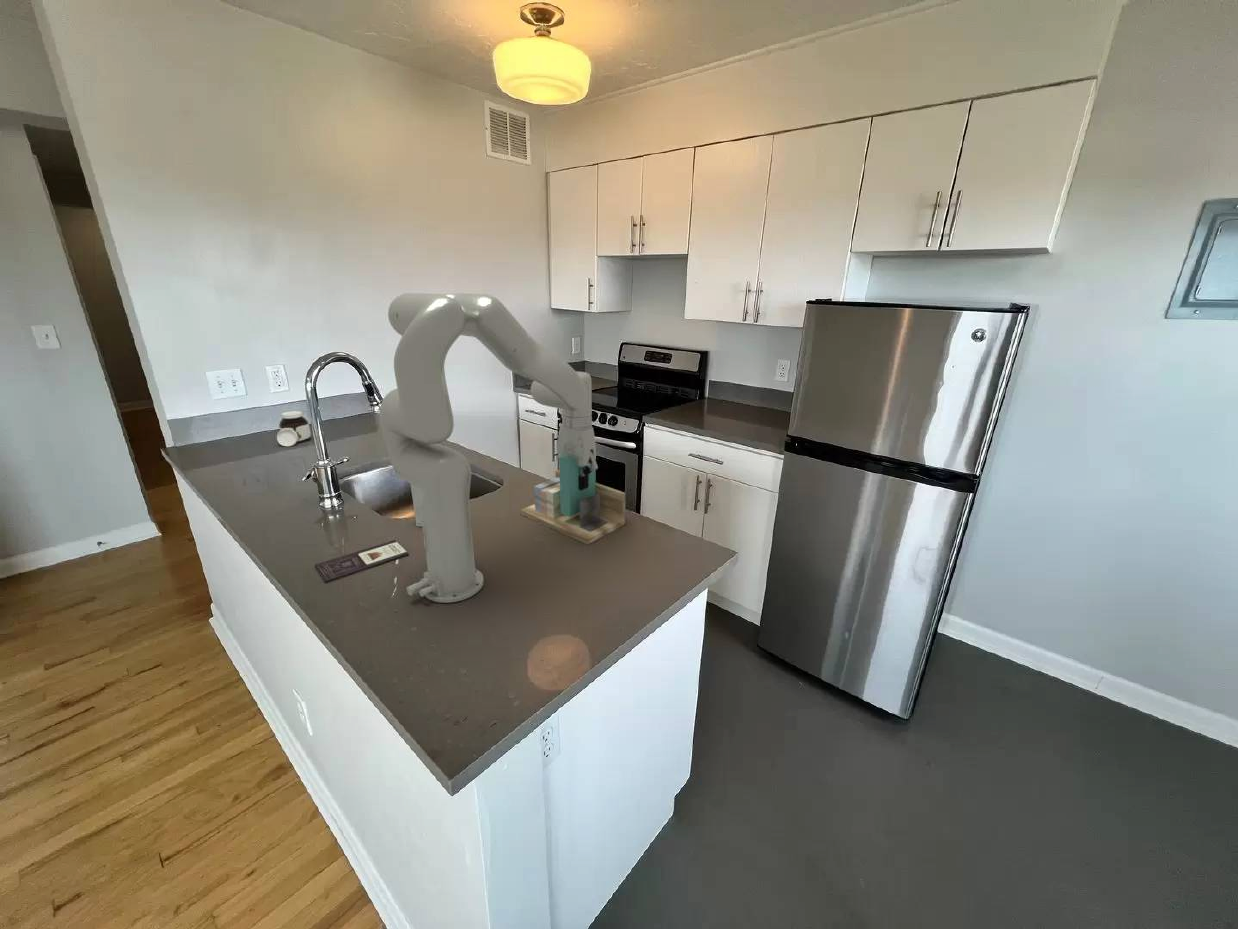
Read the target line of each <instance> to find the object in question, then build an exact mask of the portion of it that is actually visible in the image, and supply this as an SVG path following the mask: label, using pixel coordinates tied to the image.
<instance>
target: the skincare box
mask: <svg viewBox="0 0 1238 929" xmlns="http://www.w3.org/2000/svg"><path fill="white" fill-rule="evenodd" d="M409 484H410V490H411V497H412V504H413V512H414V518H415V525H416V527H422V522H421V506H422V502H423V498H424V492H423V490H422V489H421V488H419V487H417V486H415V485H413V484H411V483H409Z"/></svg>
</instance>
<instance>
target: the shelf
mask: <svg viewBox="0 0 1238 929" xmlns="http://www.w3.org/2000/svg"><path fill="white" fill-rule="evenodd" d="M533 490H534V504H531V505H530V506H527V507H524V508H521V509H519V510H520V515H521V516H523V515H524V516H523V517H525V516H526V518H527V517H528V518H527V519H529V518H530V520H531V519H532V521H533V522H536V521H537V522H536V523H538V522H539V524H540V523H541V525H542V524H543V526H545V527H547V528H549V529H551V528H552V530H554V531H556V532H559V533H560V534H562V535H565V536H567V537H569V538H572V539H574V540H576V541H578V540H579V541H578V542H580V541H581V543H582V542H583V543H582V544H585V545H586V546H587V545H590V544H591V543H593V542H595V541H597V540H599V539H601V538H603V537H604V536H607V535H608V534H610V533H612V532H614V531H616V530H617V529H620V528H621V527H623V526H625V525H626V524H625V523H626V492H623V491H621V490H618V489H615V488H613V487H609V486H606V485H604V484H601V483H599V482H596V495H593V496H591V497H589V498H586V499H584V500H582V501H580V513H578V514H576V515H574V516H571V517H569V516H566V515H564V514H561V502H560V469H556V470H555V478H553V479H550V480H547V481H545V482H541V483H539V484H537V485H534V488H533Z"/></svg>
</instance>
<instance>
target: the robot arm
mask: <svg viewBox="0 0 1238 929" xmlns="http://www.w3.org/2000/svg"><path fill="white" fill-rule="evenodd" d="M387 315H388V317H387V318H388V321H389V323H390V326H391V327H392V328H393V329H394V331H395V332H396V333H397V334H398V335H400V336H401V338H400V340H399V342H398V345H397V347H396V349H395V352H394V358H393V370H394V378H395V383H396V388H395V389H393V390H391V391H389V392H388V393H387V394H386V395H385V396H384V398H383V399H382V401H381V403H380V406H379V413H378V414H379V415H378V416H379V423H380V427H381V430H382V432H381V433H382V436H383V439H384V442H385V446H386V449H387V453H388V457H389V461H390V464H391V467H392V468H393V470H394V473H395V474H396V475H397V476H398V478H400V479H402V481H405V482H407V483H409V484H410V483H411V484H413V485H415V486H417V487H419V488H421V489H422V490H423V492H424V498H423V502H422V506H421V522H422V526H421V527H422V534H423V543H424V551H425V558H426V564H427V570H426V571H425V572H423V574H422V575H423V577H422V578H420V580H419V581H418V582H415V583H413V584H410V585H409V586H406V592H407V594H408V596H413V595H415V594H418V593H419V595H420V597H425V598H426V599H428V600H429V601H433V602H436V603H444V604H445V603H456V602H457V603H458V602H459V601H460V602H461V601H464V600H466V599H469V598H471V597H473V596H474V595H475V594H477V593H478V592H479V591H481V589H482V588H483V586H484V583H485V581H484V580H485V578H484V574H483V573H482V572H481V571H480V570H478V569H477V568H476V564H475V563H476V562H475V552H474V543H473V532H472V523H471V522H472V521H471V519H472V518H471V512H470V510H471V509H470V488H471V480H472V470H471V465H470V463H469V460H468V459H467V458H466V457H465V455H464V454H462V453H461V452H460V451H458V450H456V449H454V448H452V447H449V446H446V445H443V444H441V443H444V442H445V441H447V440H448V439H449V438H450V437H451V435H452V433H453V431H454V426H455V425H454V422H455V421H454V415H453V410H452V405H451V401H450V400H451V399H450V396H449V390H448V386H447V380H446V373H445V372H446V371H445V363H446V358H447V356H448V353H449V351H450V349H451V348H452V346H453V345H454V343H455V342H456V341H457V340H458V339H459V337H460V336H464V337H472V338H476V339H477V340H479V342H480V343H481V344H482V345H483V346H484V347H485V348H486V349H487V350H488V351H489V352H490V353H491V354H493V356H494V357H495V358H496V359H497V360H498V361H499V362H500V363H501V364H502V365H503V366H504V367H505V368H507V369H508V370H509V371H511V372H512V373H515V374H516V375H519V376H521V377H524V378H526V379H529V380H531V381H533V382H532V383H531V386H530V395H531V397H532V399H533V400H534V401H535V402H536V403H538V404H540V405H542V406H546V407H550V408H556V409H559V410H561V415H560V417H561V418H562V419H561V421H562V422H561V424H560V425H559V430H558V438H557V439H558V440H557V441H558V442H557V445H558V446H557V457H558V459H559V457H561V456H564V455H566V456H570V457H572V458H575V465H576V466H578V467H579V469H580V476H579V490H584V489H586V488H588V487H589V474H590V473H591V472H592V471H593V470H595V469H596V470H598V468H599V467H598V464H597V460H596V459H597V457H596V456H597V451H596V450H597V449H596V448H597V447H596V446H597V445H596V437H595V431H594V427H593V426H592V425H593V424H592V422H593V421H592V419H593V418H592V415H593V413H592V411H593V410H592V405H593V403H592V401H593V400H592V386H593V385H592V377H591V375H590V374H589V372H585V371H576V370H575V369H574V368H573V367H572V366H571V365H570V363H568V362H567V361H565V360H564V359H563V358H561V357H560V356H558V355H557V354H555V353H554V352H552V351H551V350H549V349H548V348H546V347H545V346H544V345H542V344H541V343H539V342H537V341H536V340H535V339H534V338H533V337H532V336H531V334H529V333H528V331H526V329H525V328H524V327H523V325H521V323H520V322H519V321H518V320H517V319H516V317H515V316H514V315H513V314H512V313H511V312H510V311H509V309H507V307H506V306H505V305H504V304H503V302H501V301H500V300H499V298H497V297H495V296H493V295H489V294H484V293H483V294H482V293H466V292H465V293H464V292H463V293H462V292H461V293H418V292H417V293H416V292H414V293H413V292H407V293H402V294H399V295H398V296H396V297H395V298H394V299H393V300H392V301H391V302H390V304H389V307H388V312H387ZM584 467H585V468H586V469H585V470H584ZM411 484H410V485H411Z"/></svg>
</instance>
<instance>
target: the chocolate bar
mask: <svg viewBox="0 0 1238 929" xmlns="http://www.w3.org/2000/svg"><path fill="white" fill-rule="evenodd" d="M409 556H410V554H409V553H408V552H407V550H405V548H404V547H402V545H401V544H399V543H398V542H397V541H396V540H395V539H393V540H390V541H387V542H383V543H381V544H377V545H374V546H371V547H368V548H364V549H361V550H358V551H355V552H354V551H353V552H352V553H348V554H344V555H342V556H338V557H336V558H332V559H329V560H326V561H322V562H319V563H317V564H316V563H315V564H314V568H315V569H316V571H317V572H318V573H319V575H320V577H321V579H322V581H324V584H328V583H331V582H334V581H337V580H341V579H343V578H346V577H349V576H352V575H355V574H359V573H362V572H365V571H368V570H370V569H374V568H376V567H379V566H381V565H385V564H388V563H392V562H395V561H397V560H401V559H403V558H406V557H409Z"/></svg>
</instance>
